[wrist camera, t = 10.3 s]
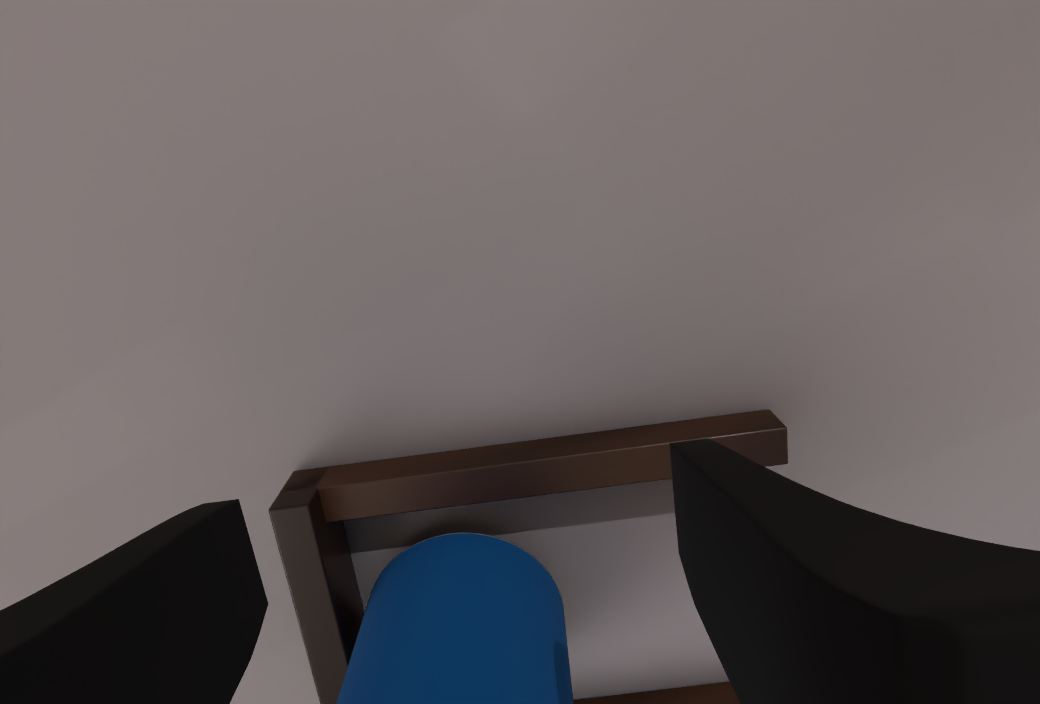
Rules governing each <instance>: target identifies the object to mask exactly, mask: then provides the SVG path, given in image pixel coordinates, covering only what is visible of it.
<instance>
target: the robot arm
mask: <svg viewBox="0 0 1040 704" xmlns="http://www.w3.org/2000/svg"><path fill="white" fill-rule="evenodd" d="M669 444H670V456H671V468H672V479H673V491H674V502H675V514H676V526H677V537H678V549H679V555H680V558H681V562H682V565H683V568H684V572H685V575H686V579H687V582H688V585H689V588H690V591H691V595H692V598H693V601H694V604H695V606H696V609H697V611H698V613H699V615H700V618H701V620H702V622H703V624H704V626H705V629H706V631H707V633H708V635H709V637H710V640H711V642H712V644H713V646H714V648H715V651H716V653H717V655H718V657H719V659H720V661H721V664H722V666H723V668H724V670H725V672H726V674H727V677H728V679H729V681H730V683H731V685H732V687H733V690H734V692H735V694H736V696H737V698H738V700H739V703H740V704H1040V551H1035V550H1029V549H1022V548H1016V547H1009V546H1004V545H999V544H994V543H988V542H983V541H978V540H973V539H968V538H964V537H960V536H956V535H951V534H947V533H943V532H939V531H934V530H930V529H926V528H922V527H918V526H915V525H911V524H907V523H904V522H900V521H897V520H894V519H891V518H888V517H885V516H882V515H878V514H875V513H872V512H869V511H866V510H863V509H860V508H857V507H854V506H852V505H849V504H846V503H844V502H841V501H838V500H836V499H833V498H831V497H829V496H826V495H824V494H822V493H819V492H817V491H814V490H812V489H810V488H807V487H805V486H803V485H801V484H799V483H796V482H794V481H792V480H790V479H788V478H786V477H784V476H782V475H780V474H777V473H776V472H774V471H772V470H770V469H768V468H766V467H764V466H762V465H760V464H758V463H756V462H754V461H752V460H750V459H748V458H746V457H744V456H743V455H741V454H739V453H737V452H735V451H733V450H731V449H729V448H727V447H725V446H723V445H721V444H719V443H717V442H715V441H713V440H710V439H708V438H705V439H697V440H689V441H682V442H674V443H669ZM267 606H268V601H267V598H266V594H265V591H264V587H263V584H262V580H261V577H260V573H259V570H258V566H257V562H256V559H255V555H254V552H253V548H252V545H251V541H250V538H249V534H248V531H247V527H246V523H245V520H244V516H243V513H242V509H241V506H240V502H239V499H236V500H229V501H221V502H213V503H206V504H201V505H199V506H196V507H193V508H191V509H189V510H186V511H184V512H182V513H180V514H178V515H176V516H174V517H172V518H170V519H168V520H166V521H165V522H163V523H161V524H159V525H157V526H155V527H153V528H152V529H150V530H148V531H146V532H145V533H143V534H141V535H139V536H137V537H136V538H134V539H132V540H130V541H129V542H127V543H125V544H123V545H122V546H120V547H118V548H116V549H115V550H113V551H111V552H109V553H108V554H106V555H104V556H102V557H100V558H99V559H97V560H95V561H93V562H92V563H90V564H88V565H86V566H84V567H82V568H81V569H79V570H77V571H75V572H73V573H71V574H69V575H68V576H66V577H64V578H62V579H60V580H58V581H56V582H55V583H53V584H51V585H49V586H47V587H45V588H43V589H42V590H40V591H38V592H36V593H34V594H32V595H30V596H28V597H27V598H25V599H23V600H21V601H19V602H17V603H15V604H13V605H11V606H9V607H7V608H5V609H3V610H1V611H0V704H230V701H231V699H232V697H233V695H234V693H235V691H236V689H237V687H238V685H239V683H240V681H241V679H242V676H243V674H244V672H245V670H246V668H247V666H248V664H249V661H250V659H251V657H252V654H253V651H254V648H255V645H256V642H257V639H258V636H259V633H260V630H261V626H262V623H263V620H264V616H265V613H266V609H267Z"/></svg>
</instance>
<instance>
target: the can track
mask: <svg viewBox="0 0 1040 704" xmlns="http://www.w3.org/2000/svg"><path fill="white" fill-rule="evenodd" d="M705 438H708V439H710V440H713V441H715V442H717V443H719V444H721V445H723V446H725V447H727V448H729V449H731V450H733V451H735V452H737V453H739V454H741V455H743V456H744V457H746V458H748V459H750V460H752V461H754V462H756V463H758V464H760V465H762V466H764V467H766V466H774V465H781V464H787V463H788V448H787V428H786V426H785V425H784V424H783V423H782V422H781V421H780V420H779V419H778V418H777V417H776V416H775V415H774V414H773V413H772V412H771V411H770V410H761V411H753V412H746V413H738V414H730V415H723V416H715V417H707V418H700V419H692V420H684V421H677V422H669V423H661V424H654V425H646V426H638V427H630V428H623V429H615V430H607V431H600V432H592V433H584V434H577V435H569V436H561V437H554V438H546V439H538V440H531V441H523V442H515V443H507V444H500V445H492V446H484V447H477V448H469V449H461V450H454V451H446V452H438V453H431V454H423V455H415V456H408V457H400V458H392V459H384V460H377V461H369V462H361V463H354V464H346V465H338V466H331V467H323V468H315V469H308V470H300V471H294V472H293V473H292V475H291V476H290V478H289V479H288V481H287V482H286V484H285V485H284V487H283V488H282V490H281V491H280V493H279V495H278V496H277V498H276V499H275V501H274V502H273V504H272V505H271V507H270V508H269V514H270V518H271V522H272V525H273V529H274V533H275V537H276V540H277V544H278V548H279V551H280V555H281V559H282V563H283V566H284V570H285V574H286V577H287V581H288V585H289V589H290V592H291V596H292V600H293V603H294V607H295V611H296V615H297V618H298V622H299V626H300V630H301V633H302V637H303V641H304V644H305V648H306V652H307V656H308V659H309V663H310V667H311V670H312V674H313V678H314V682H315V685H316V689H317V693H318V696H319V700H320V704H336V703H337V700H338V697H339V694H340V690H341V687H342V684H343V681H344V678H345V674H346V671H347V668H348V665H349V662H350V659H351V655H352V652H353V649H354V646H355V643H356V639H357V636H358V633H359V630H360V627H361V623H362V620H363V617H364V610H363V606H362V601H361V597H360V593H359V589H358V584H357V580H356V576H355V572H354V567H353V563H352V559H351V555H350V551H349V546H348V542H347V538H346V534H345V529H344V525H343V520H351V519H359V518H366V517H374V516H382V515H390V514H398V513H405V512H413V511H421V510H429V509H437V508H445V507H452V506H460V505H468V504H476V503H484V502H492V501H499V500H507V499H515V498H523V497H531V496H539V495H546V494H554V493H562V492H570V491H578V490H586V489H593V488H601V487H609V486H617V485H625V484H633V483H640V482H648V481H656V480H664V479H672V468H671V456H670V444H669V443H674V442H682V441H689V440H697V439H705ZM573 704H740V703H739V700H738V698H737V696H736V694H735V692H734V690H733V687H732V685H731V683H730V682H723V683H715V684H707V685H698V686H690V687H681V688H673V689H664V690H656V691H648V692H639V693H631V694H622V695H614V696H605V697H597V698H589V699H580V700H573Z"/></svg>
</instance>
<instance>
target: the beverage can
mask: <svg viewBox="0 0 1040 704" xmlns="http://www.w3.org/2000/svg"><path fill="white" fill-rule="evenodd" d="M336 704H573V695H572V685H571V676H570V666H569V657H568V647H567V638H566V629H565V619H564V610H563V603H562V599H561V595H560V593H559V590H558V588H557V586H556V584H555V582H554V580H553V579H552V577H551V575H550V574H549V572H548V571H547V570H546V569H545V568H544V566H543V565H542V564H541V563H540V562H539V561H538V560H537V559H536V558H534V557H533V556H532V555H531V554H529V553H528V552H527V551H525V550H524V549H522V548H520V547H518V546H517V545H515V544H513V543H511V542H508V541H506V540H503V539H501V538H497V537H493V536H490V535H485V534H478V533H451V534H444V535H440V536H435V537H432V538H429V539H426V540H423V541H421V542H419V543H417V544H415V545H413V546H410V547H409V548H407V549H406V550H404V551H403V552H401V553H400V554H399V555H398V556H396V557H395V558H394V559H393V560H392V561H391V562H390V563H389V564H388V565H387V566H386V568H385V569H384V570H383V571H382V573H381V574H380V576H379V577H378V579H377V580H376V582H375V585H374V587H373V589H372V592H371V595H370V598H369V601H368V604H367V607H366V611H365V614H364V617H363V620H362V623H361V627H360V630H359V633H358V636H357V639H356V643H355V646H354V649H353V652H352V655H351V659H350V662H349V665H348V668H347V671H346V674H345V678H344V681H343V684H342V687H341V690H340V694H339V697H338V700H337V703H336Z"/></svg>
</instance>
